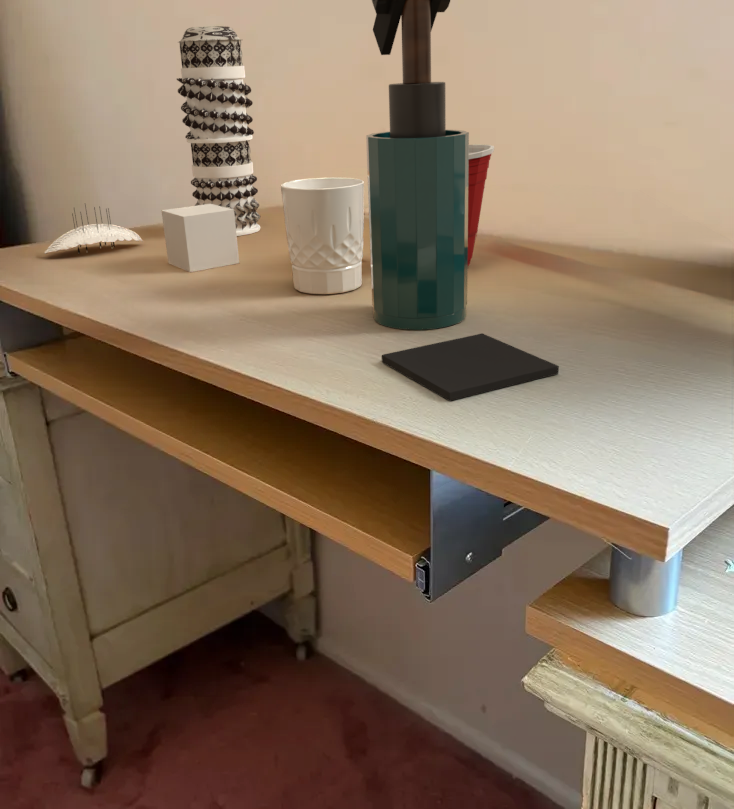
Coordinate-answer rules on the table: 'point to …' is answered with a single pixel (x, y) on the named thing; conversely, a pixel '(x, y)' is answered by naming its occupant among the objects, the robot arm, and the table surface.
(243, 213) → the bracelet display stand
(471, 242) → the plastic cup
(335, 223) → the white cup
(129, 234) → the pincushion
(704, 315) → the table surface
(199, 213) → the off-white cube
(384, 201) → the tumbler
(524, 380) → the mat
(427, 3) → the bottle brush
